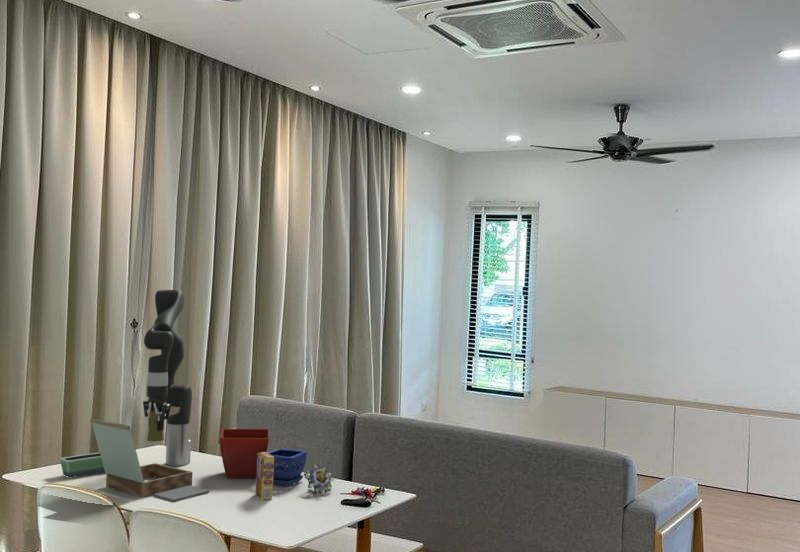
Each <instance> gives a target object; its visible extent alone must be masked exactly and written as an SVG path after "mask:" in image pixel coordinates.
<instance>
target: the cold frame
mask: <svg viewBox="0 0 800 552" xmlns="http://www.w3.org/2000/svg"><path fill="white" fill-rule="evenodd" d="M140 468H141V472H142V476H143V480H146V479H151V478H156V479H152V480H147V481H144V482H143V483H142V482H138V481H134V480H130V479H126V478H122V477H119V476H115V475H111V474H107V473H105V474H106V475H105V476H106V479H105V483H106V484H105V487H106V488H108V489H109V488H110V489H112V488H113V490H116V491H119V492H120V491H121V492H124V493H128V494H131V495H133V496H134V495H135V496H138V497H141V498H146V497H150V496H154V494H157V493H161V492H165V491H169V490H173V489H177V488H181V487H185V486H189V485H190V486H193V471H190V470H186V469H181V468H178V467H174V466H170V465H166V464H161V463H157V462H155V463H149V464H144V465H140Z"/></svg>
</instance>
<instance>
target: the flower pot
mask: <svg viewBox="0 0 800 552" xmlns="http://www.w3.org/2000/svg"><path fill="white" fill-rule="evenodd" d="M267 452H268V453H269V454H271V455H272V456H273V457H274V472H273V484H275V486H281V485H282V486H281V487H283V486H284V487H290V486H292V485H294V483H295V484H296V483H300V482H301V481H302V480H303V478H304V474H303V475H302V473H303V471H304V468H305V465H306V462H307V451H305V450H298V449H297V450H296V449H286V448H277V449H275V450H274V449H273V450H271V451H267Z"/></svg>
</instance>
